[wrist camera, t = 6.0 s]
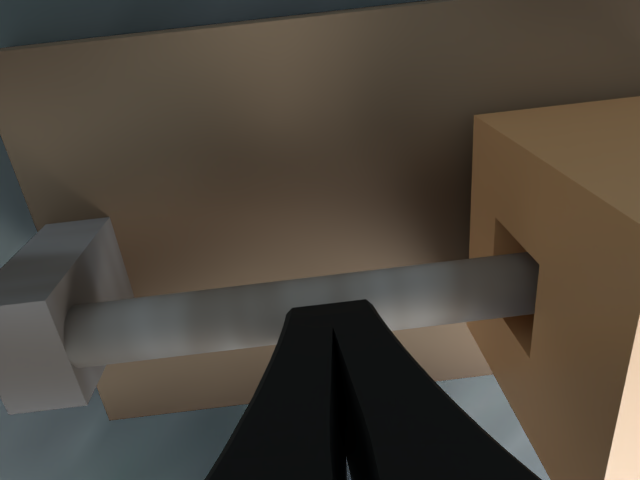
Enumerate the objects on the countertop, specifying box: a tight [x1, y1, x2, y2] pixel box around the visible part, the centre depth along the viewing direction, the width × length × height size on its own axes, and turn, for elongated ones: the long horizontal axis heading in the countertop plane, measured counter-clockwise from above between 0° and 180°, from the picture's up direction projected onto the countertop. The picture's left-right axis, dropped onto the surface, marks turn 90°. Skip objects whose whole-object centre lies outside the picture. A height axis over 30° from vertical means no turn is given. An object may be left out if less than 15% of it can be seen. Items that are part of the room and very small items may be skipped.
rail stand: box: [0, 0, 640, 421], centre depth 11 cm, size 10×19×7 cm, turn 95°
